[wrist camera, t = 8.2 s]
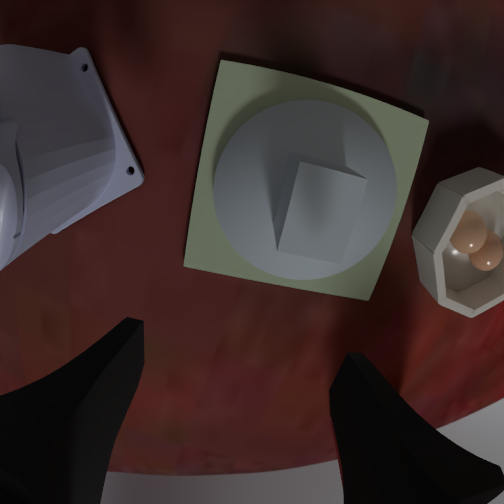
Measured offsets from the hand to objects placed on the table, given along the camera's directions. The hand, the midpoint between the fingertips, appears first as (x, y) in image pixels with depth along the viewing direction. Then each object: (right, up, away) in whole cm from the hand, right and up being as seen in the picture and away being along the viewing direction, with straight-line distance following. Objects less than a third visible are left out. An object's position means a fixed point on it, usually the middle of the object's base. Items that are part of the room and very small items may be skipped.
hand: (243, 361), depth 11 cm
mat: (+3, +7, +7) cm, 11 cm away
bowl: (+15, +5, +8) cm, 18 cm away
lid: (+3, +7, +7) cm, 10 cm away
